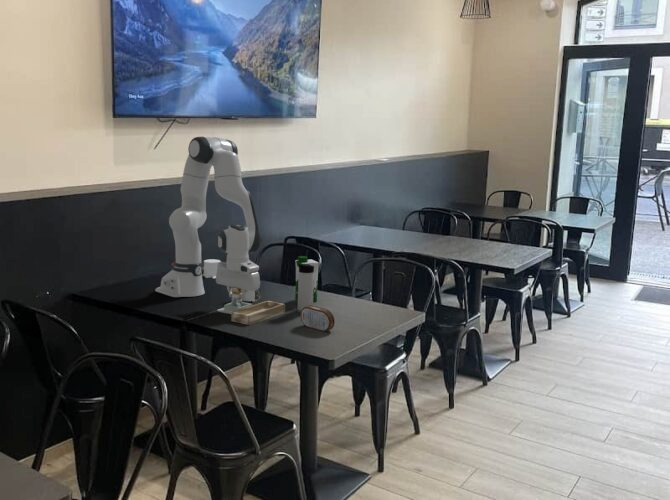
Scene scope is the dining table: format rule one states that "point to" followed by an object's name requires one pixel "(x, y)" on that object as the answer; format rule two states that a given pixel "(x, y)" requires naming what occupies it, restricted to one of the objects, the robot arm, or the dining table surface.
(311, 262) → the milk carton
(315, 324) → the tin
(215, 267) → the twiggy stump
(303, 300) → the travel mug
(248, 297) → the medicine bottle
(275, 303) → the trough
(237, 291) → the cell
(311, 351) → the dining table surface
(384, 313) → the dining table surface
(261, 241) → the robot arm
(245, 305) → the checker cradle
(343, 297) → the dining table surface
